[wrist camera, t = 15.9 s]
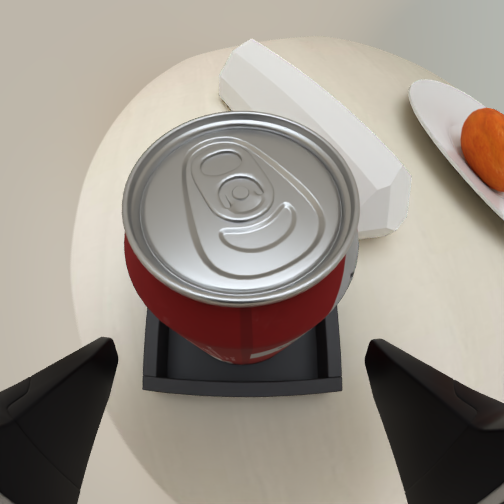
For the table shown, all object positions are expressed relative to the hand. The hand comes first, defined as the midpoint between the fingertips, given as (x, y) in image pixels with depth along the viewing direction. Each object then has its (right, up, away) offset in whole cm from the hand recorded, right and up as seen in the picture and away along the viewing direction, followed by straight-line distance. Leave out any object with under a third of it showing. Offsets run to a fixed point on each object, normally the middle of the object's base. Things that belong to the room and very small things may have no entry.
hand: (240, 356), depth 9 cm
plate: (+32, +16, +17) cm, 40 cm away
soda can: (0, 0, +8) cm, 8 cm away
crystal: (+5, +13, +15) cm, 21 cm away
